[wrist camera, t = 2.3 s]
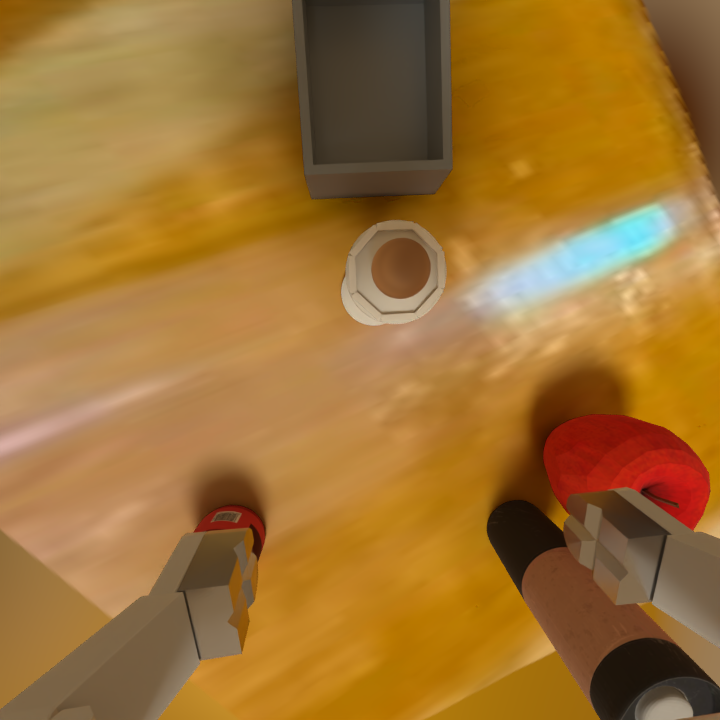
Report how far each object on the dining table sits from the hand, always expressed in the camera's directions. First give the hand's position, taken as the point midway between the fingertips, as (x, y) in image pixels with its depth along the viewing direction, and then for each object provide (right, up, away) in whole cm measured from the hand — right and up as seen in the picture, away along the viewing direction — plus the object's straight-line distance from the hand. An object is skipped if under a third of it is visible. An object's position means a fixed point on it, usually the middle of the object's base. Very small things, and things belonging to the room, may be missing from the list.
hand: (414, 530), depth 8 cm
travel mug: (+18, -16, +32) cm, 40 cm away
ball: (+1, +9, +10) cm, 13 cm away
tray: (0, +30, +25) cm, 40 cm away
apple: (+23, -6, +31) cm, 39 cm away
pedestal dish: (0, +12, +28) cm, 30 cm away
